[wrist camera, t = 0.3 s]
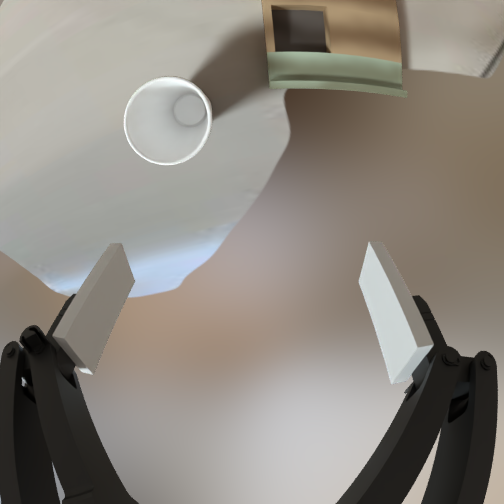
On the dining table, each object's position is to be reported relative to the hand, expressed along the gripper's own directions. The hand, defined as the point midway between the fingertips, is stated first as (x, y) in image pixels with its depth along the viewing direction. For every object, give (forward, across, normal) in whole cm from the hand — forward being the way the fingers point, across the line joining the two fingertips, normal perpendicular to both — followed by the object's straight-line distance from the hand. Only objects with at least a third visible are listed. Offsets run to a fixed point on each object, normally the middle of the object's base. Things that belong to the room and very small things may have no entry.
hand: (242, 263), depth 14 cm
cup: (+28, -9, +5) cm, 29 cm away
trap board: (+28, +10, +23) cm, 37 cm away
